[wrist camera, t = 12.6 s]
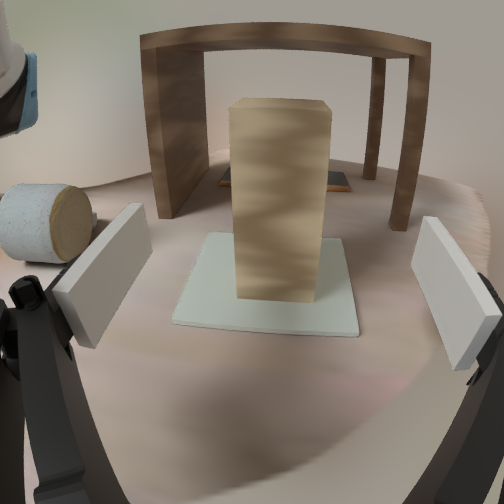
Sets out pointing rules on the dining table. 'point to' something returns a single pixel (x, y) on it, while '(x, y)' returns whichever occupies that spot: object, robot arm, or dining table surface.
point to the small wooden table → (268, 37)
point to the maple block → (278, 195)
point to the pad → (261, 311)
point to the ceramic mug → (45, 222)
